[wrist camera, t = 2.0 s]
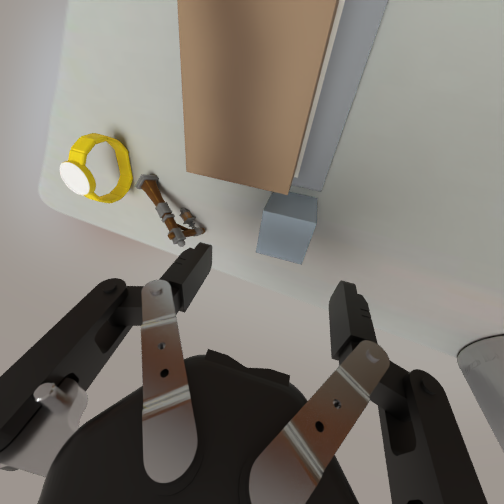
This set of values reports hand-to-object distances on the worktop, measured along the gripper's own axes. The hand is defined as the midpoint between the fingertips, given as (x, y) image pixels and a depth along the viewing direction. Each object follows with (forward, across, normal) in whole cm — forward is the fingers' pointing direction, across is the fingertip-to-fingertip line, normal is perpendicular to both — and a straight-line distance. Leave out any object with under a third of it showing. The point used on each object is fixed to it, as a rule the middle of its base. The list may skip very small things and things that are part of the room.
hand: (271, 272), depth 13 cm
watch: (+10, +18, -1) cm, 20 cm away
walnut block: (+8, +4, -9) cm, 13 cm away
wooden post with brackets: (+10, +12, +2) cm, 16 cm away
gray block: (+10, 0, 0) cm, 10 cm away
